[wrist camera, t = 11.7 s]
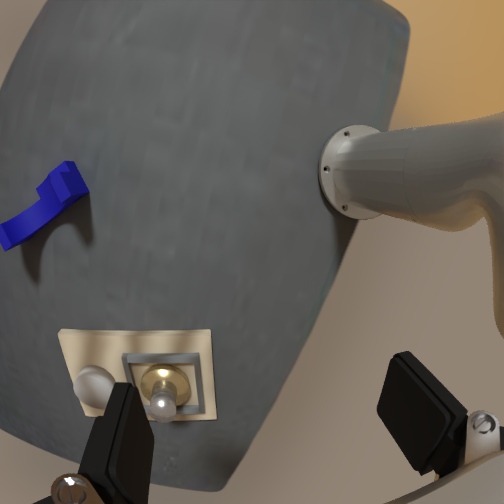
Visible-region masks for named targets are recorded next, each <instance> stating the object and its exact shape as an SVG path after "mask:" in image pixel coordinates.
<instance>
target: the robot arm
mask: <svg viewBox="0 0 504 504" xmlns="http://www.w3.org/2000/svg"><path fill="white" fill-rule="evenodd" d="M344 133H345V136H344ZM324 167H325V168H326V170H325V171H324ZM318 173H319V181H320V185H321V188H322V191H323V193H324V195H325V197H326V199H327V200H328V201H329V203H330V204H331V205H332V206H333V207H334V208H335V209H336V210H337V211H338V212H340V213H342V214H343V215H345V216H348V217H350V218H354V219H358V220H367V219H371V218H375V217H377V216H379V215H381V214H385V215H389V216H392V217H396V218H400V219H404V220H407V221H410V222H414V223H417V224H421V225H424V226H428V227H432V228H435V229H438V230H442V231H448V232H456V231H461V230H464V229H467V228H469V227H471V226H472V225H474V224H475V223H477V222H478V221H479V220H480V219H481V218H482V217H485V219H486V221H487V225H488V229H489V236H490V245H491V250H492V266H493V307H494V316H495V321H496V325H497V328H498V330H499V332H500V334H501V335H502V337H503V338H504V112H501V113H497V114H494V115H490V116H486V117H482V118H478V119H473V120H468V121H462V122H454V123H447V124H438V125H431V126H423V127H415V128H408V129H401V130H394V131H388V132H380V131H378V130H376V129H374V128H373V127H369V126H365V125H354V126H349V127H345V128H343V129H341V130H339V131H337V132H336V133H335V134H333V135H332V136H331V137H330V138H329V140H328V141H327V142H326V144H325V145H324V148H323V150H322V152H321V155H320V159H319V167H318ZM342 206H343V209H342ZM467 412H468V411H467V409H466V408H465V407H464V406H463V405H462V404H461V403H460V402H459V401H458V400H457V399H456V398H455V397H454V396H453V395H452V394H451V393H450V392H449V391H448V390H447V389H446V388H445V387H444V386H443V385H442V383H441V382H439V380H437V378H436V377H435V376H434V375H433V374H432V373H431V372H430V371H429V370H428V369H427V368H426V367H425V366H424V365H423V364H422V363H421V362H420V361H419V360H418V359H417V358H416V357H415V356H414V355H413V354H412V353H411V352H409V351H405V352H401V353H397V354H395V355H394V356H393V358H392V359H391V360H390V363H389V366H388V370H387V374H386V378H385V381H384V385H383V389H382V393H381V395H380V399H379V402H378V405H377V413H378V415H379V417H380V418H381V420H382V421H383V423H384V425H385V426H386V428H387V429H388V431H389V432H390V434H391V435H392V437H393V438H394V439H395V441H396V443H397V444H398V446H399V447H400V449H401V451H402V452H403V454H404V455H405V457H406V458H407V460H408V461H409V463H410V464H411V466H412V467H413V469H414V470H416V471H419V473H420V475H421V476H422V475H424V474H426V473H428V472H430V471H432V470H434V471H435V473H436V474H435V479H434V482H432V483H430V484H428V485H426V486H424V487H422V488H420V489H418V490H416V491H414V492H411V493H409V494H407V495H404V496H402V497H400V498H397V499H395V500H392V501H390V502H387V503H384V504H504V427H501V426H499V423H498V420H497V418H496V417H495V416H494V415H493V414H492V413H489V412H487V411H476V412H473V413H472V414H470V416H469V417H468V416H467ZM153 449H154V435H153V432H152V429H151V427H150V424H149V421H148V418H147V415H146V412H145V409H144V406H143V403H142V400H141V397H140V393H139V390H138V388H137V387H133V385H132V383H130V382H115V384H114V386H113V389H112V392H111V394H110V397H109V400H108V403H107V406H106V409H105V412H104V415H103V416H97V417H96V419H95V421H94V424H93V427H92V430H91V433H90V436H89V439H88V442H87V445H86V448H85V451H84V454H83V457H82V460H81V464H80V467H79V470H78V473H77V474H75V473H68V474H64V475H61V476H59V477H58V478H57V479H56V480H55V481H54V482H53V484H52V486H51V496H48V497H46V498H44V499H42V500H40V501H38V502H35V503H33V504H148V495H149V485H150V475H151V466H152V458H153Z"/></svg>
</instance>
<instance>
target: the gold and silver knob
mask: <svg viewBox="0 0 504 504" xmlns="http://www.w3.org/2000/svg"><path fill="white" fill-rule="evenodd" d="M140 389H141V392H142V394H143V395H144V397H145V398H146V399H147V400H149V401H150V406H149V415H150V416H151V418H153V419H154V420H156V421H158V422H162V423H167V422H171V421H173V420H174V419H175V417H176V406H178V405H180V404H182V403H184V402H185V401H186V400H187V398H188V397H189V393H190V382H189V379H188V377H187V375H186V374H185V373H184V372H183V371H182V370H181V369H179V368H177V367H175V366H173V365H169V364H156V365H153V366H150V367H149V368H147V369H146V370H145V371H144V373H143V375H142V379H141V383H140Z"/></svg>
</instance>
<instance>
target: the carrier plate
mask: <svg viewBox="0 0 504 504" xmlns="http://www.w3.org/2000/svg"><path fill="white" fill-rule="evenodd" d="M58 337H59V341H60V344H61V347H62V351H63V354H64V357H65V360H66V364H67V367H68V370H69V373H70V375H71V378H72V381H73V384H74V392H75V394H76V396H77V397H78V398H79V400H80V402H81V405H82V407H83V410H84V412H85V415H86V416H92V417H97V416H103V415H104V412H105V409H106V406H107V403H108V400H109V397H110V394H111V392H112V389H113V386H114V384H115V382H130V383H132V385H133V387H137V388H138V390H139V393H140V397H141V400H142V403H143V406H144V409H145V412H146V415H147V418H148V420H154V419H153V418H151V416H150V415H149V406H150V401H149V400H147V399H146V398H145V397H144V395H143V394H142V392H141V389H140V383H141V379H142V375H143V373H144V371H145V370H146V369H147V368H149V367H150V366H153V365H156V364H169V365H173V366H175V367H177V368H179V369H181V370H182V371H183V372H184V373H185V374H186V375H187V377H188V379H189V382H190V393H189V397H188V398H187V400H186V401H185V402H184V403H182V404H180V405H178V406H176V417H175V419H174V420H173V421H184V420H212V419H217V415H216V404H215V391H214V377H213V363H212V346H211V331H210V329H205V330H173V331H106V330H75V329H61V330H60V331H59V333H58Z"/></svg>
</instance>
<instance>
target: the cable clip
mask: <svg viewBox="0 0 504 504" xmlns="http://www.w3.org/2000/svg"><path fill="white" fill-rule="evenodd" d="M36 190H37V192H38V194H39V196H40V198H41V199H40V200H39V201H37V202H36V203H35V204H34V205H32V206H31V207H29V208H28V209H27V210H25V211H24V212H22V213H21V214H19V215H17V216H16V217H14V218H12V219H11V220H9V221H7V222H4V223H2V224H0V243H1V245H2V247H3V249H4V251H7V250H9V249H11V248H13V247H15V246H17V245H20V244H22V243H24V242H26V241H27V240H29V239H30V238H31V237H32V236H33V235H34V234H36V233H37V232H38V231H39V230H40V229H42V228H43V227H44V226H45V225H47V224H48V223H49V222H50V221H51V220H53V219H54V218H55V217H56V216H58V215H59V214H60V213H62V212H63V211H64V210H65V209H67V208H68V207H69V206H71V205H72V204H73V203H75V202H76V201H77V200H79V199H80V198H82V197H83V196H84V195H86V194H87V193H88V192H89V190H88V188H87V186H86V184H85V182H84V180H83V178H82V177H81V175H80V173H79V171H78V169H77V167H76V165H75V163H74V161H64V162H63V163H62V164H60V165H59V166H58V167H57V168H55V169H54V170H53V171H52V172H50V173H49V174H48V176H47V178H46V179H45V180H44V182H43V183H42V184H41V185H40V186H38V187H37V188H36Z"/></svg>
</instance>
